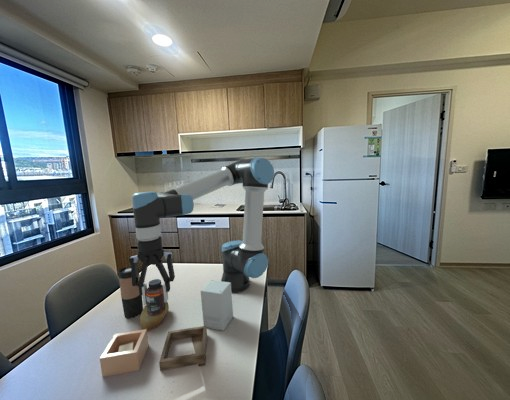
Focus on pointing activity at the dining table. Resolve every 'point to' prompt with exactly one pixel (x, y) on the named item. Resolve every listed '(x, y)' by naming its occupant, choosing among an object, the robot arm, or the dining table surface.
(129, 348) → the maple cube
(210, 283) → the supplement box
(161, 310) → the supplement bottle
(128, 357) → the light wooden box
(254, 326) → the dining table surface
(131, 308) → the travel mug
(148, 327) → the bread roll
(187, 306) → the dining table surface
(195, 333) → the walnut bin
